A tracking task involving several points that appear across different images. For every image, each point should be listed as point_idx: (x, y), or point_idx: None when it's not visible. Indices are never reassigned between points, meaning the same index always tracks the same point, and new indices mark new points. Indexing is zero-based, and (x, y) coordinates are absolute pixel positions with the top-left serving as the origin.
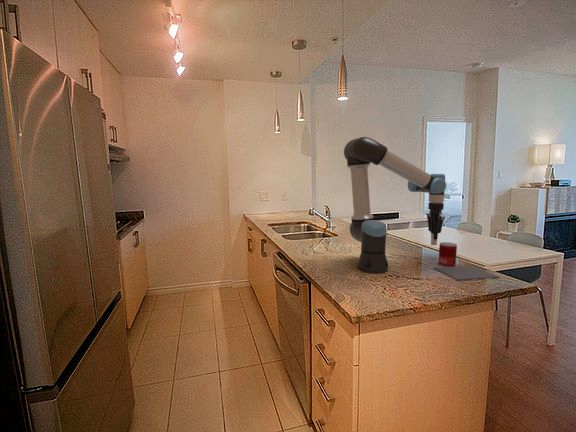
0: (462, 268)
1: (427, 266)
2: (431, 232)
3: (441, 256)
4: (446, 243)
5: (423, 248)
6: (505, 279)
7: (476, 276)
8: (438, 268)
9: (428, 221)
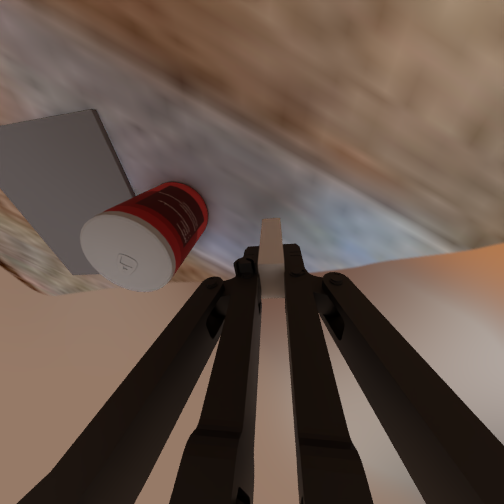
0: None
1: (129, 98)
2: (287, 269)
3: (144, 192)
4: (157, 262)
5: (445, 251)
6: (70, 277)
7: (40, 221)
8: (83, 130)
9: (433, 403)
